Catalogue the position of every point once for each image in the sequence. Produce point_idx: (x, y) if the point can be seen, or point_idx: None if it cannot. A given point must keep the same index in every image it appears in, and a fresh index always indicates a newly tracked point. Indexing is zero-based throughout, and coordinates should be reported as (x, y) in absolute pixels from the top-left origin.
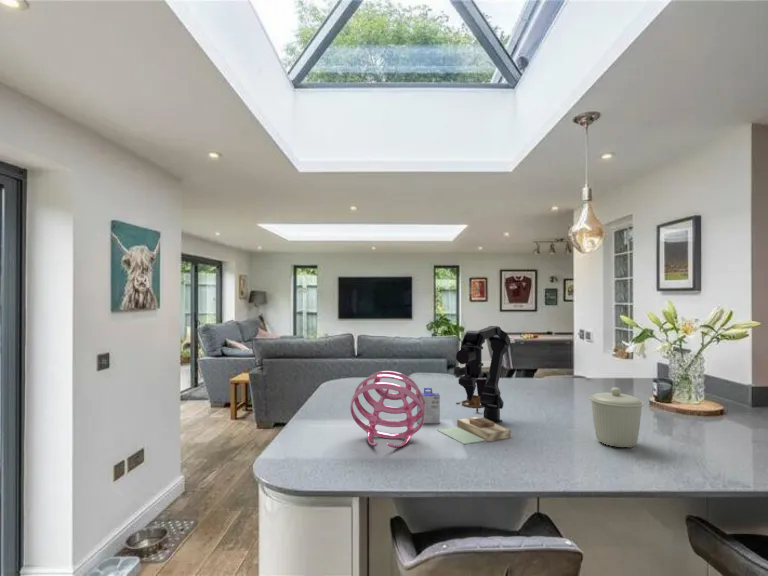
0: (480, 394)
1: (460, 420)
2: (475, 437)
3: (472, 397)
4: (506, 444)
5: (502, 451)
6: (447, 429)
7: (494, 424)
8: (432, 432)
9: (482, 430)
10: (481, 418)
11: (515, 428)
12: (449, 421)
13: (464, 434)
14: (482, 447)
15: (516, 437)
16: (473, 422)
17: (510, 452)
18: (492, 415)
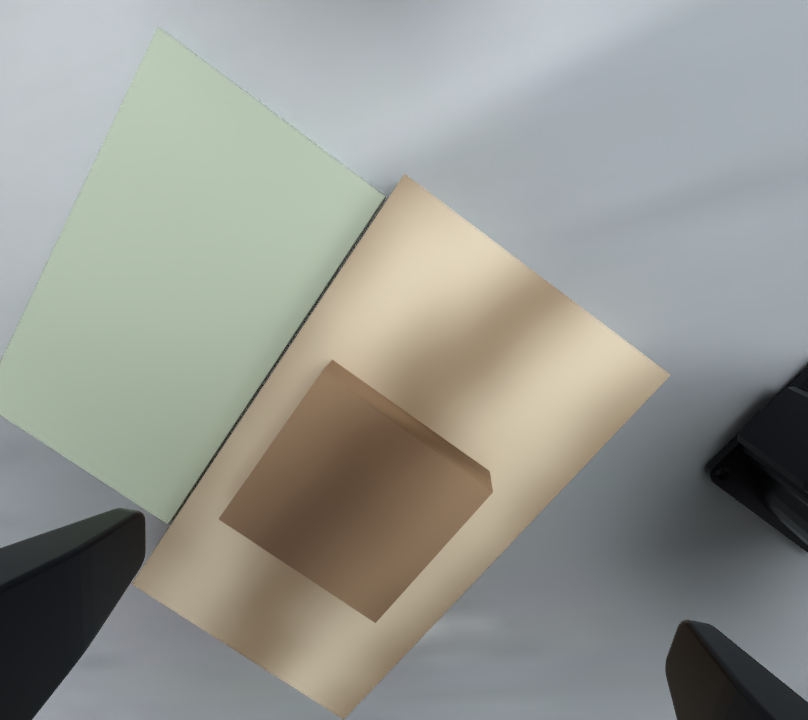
0: (686, 716)
1: (388, 226)
2: (174, 443)
3: (69, 653)
4: (189, 653)
5: None
6: (234, 128)
7: (429, 588)
8: (77, 5)
9: (176, 527)
10: (447, 482)
11: (626, 670)
12: (585, 6)
13: (190, 338)
14: (26, 528)
15: (382, 694)
16: (287, 423)
17: (63, 687)
18: (794, 516)
